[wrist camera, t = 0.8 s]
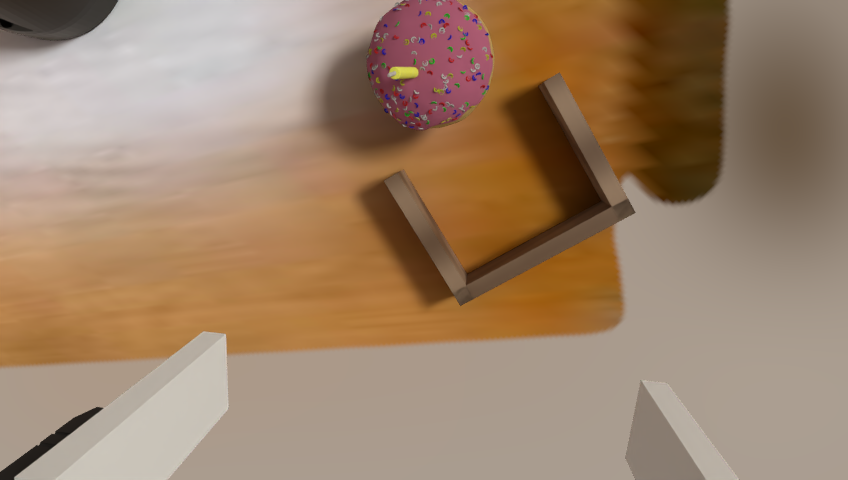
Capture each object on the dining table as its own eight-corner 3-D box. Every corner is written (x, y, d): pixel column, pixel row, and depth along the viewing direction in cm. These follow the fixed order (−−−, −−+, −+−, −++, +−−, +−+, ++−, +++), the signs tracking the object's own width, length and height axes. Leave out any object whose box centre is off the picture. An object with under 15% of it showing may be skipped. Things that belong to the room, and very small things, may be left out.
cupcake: (440, 152, 37) (423, 161, 26) (357, 79, 37) (302, 55, 25) (516, 63, 35) (534, 28, 24) (429, -15, 35) (404, -89, 23)
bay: (391, 177, 38) (383, 181, 35) (552, 77, 35) (559, 72, 32) (461, 293, 40) (460, 305, 37) (623, 206, 37) (635, 212, 34)
